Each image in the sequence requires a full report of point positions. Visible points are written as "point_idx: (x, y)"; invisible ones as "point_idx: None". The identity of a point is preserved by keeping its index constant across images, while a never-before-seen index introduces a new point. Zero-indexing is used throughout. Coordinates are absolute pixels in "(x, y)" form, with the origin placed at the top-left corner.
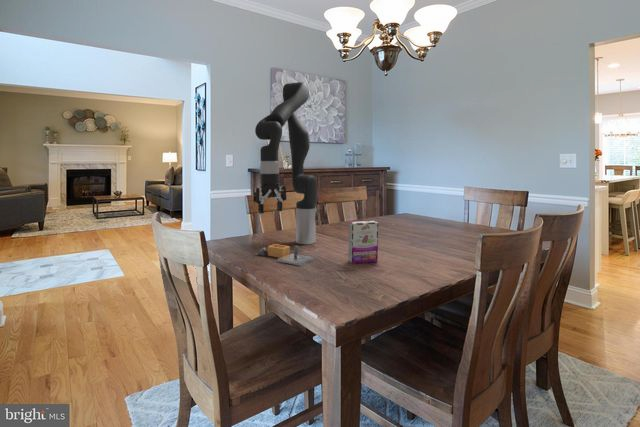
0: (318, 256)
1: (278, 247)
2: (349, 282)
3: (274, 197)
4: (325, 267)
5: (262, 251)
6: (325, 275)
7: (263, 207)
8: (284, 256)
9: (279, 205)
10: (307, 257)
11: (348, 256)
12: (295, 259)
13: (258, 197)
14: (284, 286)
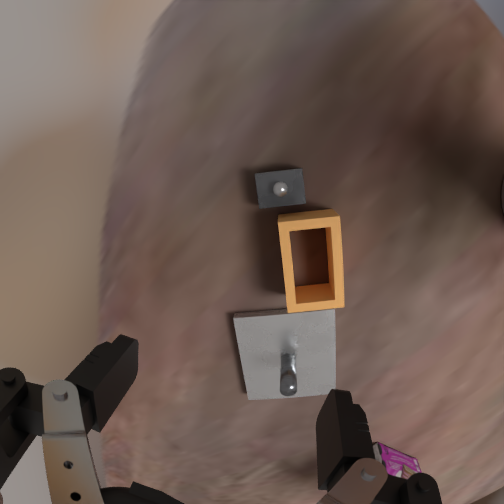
0: (384, 369)
1: (293, 282)
2: (228, 491)
3: (324, 496)
4: (285, 438)
5: (258, 201)
6: (229, 459)
7: (112, 411)
8: (277, 316)
9: (321, 457)
10: (320, 381)
11: (379, 451)
12: (270, 369)
13: (10, 457)
14: (116, 427)
